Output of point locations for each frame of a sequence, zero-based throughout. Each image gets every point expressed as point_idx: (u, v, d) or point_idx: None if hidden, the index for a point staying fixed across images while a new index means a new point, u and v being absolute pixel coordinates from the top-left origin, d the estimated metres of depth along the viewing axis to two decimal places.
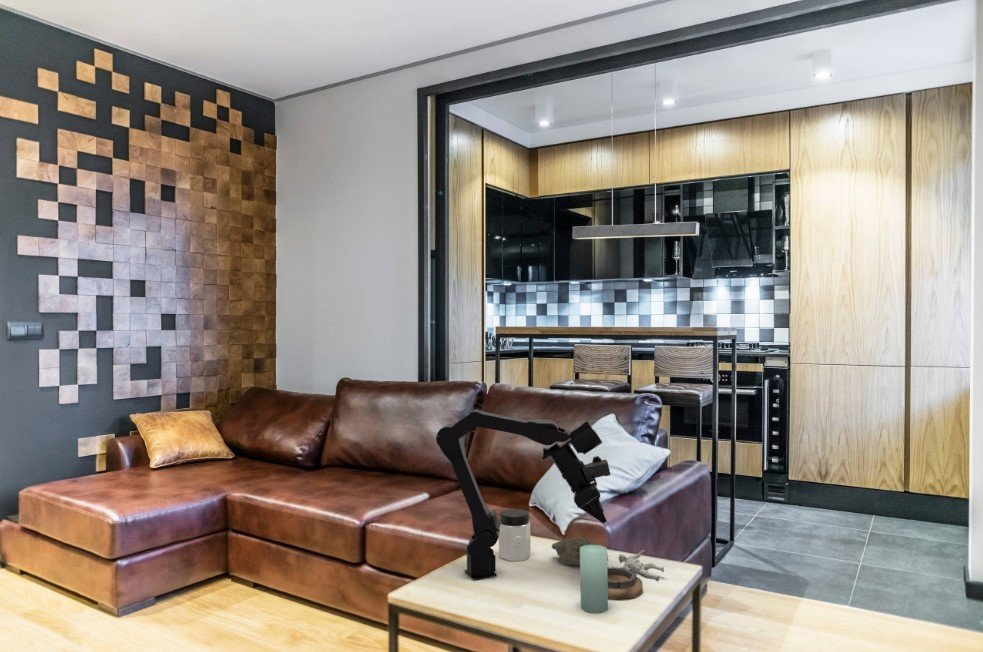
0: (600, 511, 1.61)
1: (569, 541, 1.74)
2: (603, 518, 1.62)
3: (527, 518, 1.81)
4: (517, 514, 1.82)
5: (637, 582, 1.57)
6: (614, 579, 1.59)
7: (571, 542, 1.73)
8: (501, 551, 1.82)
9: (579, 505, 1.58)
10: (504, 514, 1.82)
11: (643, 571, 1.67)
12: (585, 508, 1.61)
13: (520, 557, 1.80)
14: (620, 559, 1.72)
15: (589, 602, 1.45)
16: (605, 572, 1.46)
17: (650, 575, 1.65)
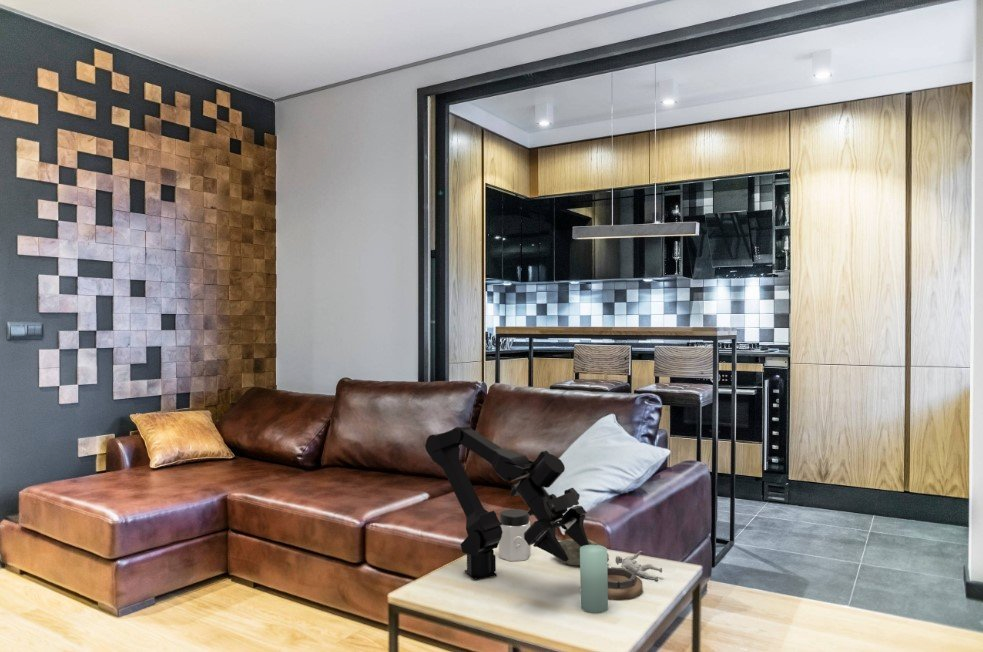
0: (557, 548, 1.47)
1: (569, 541, 1.74)
2: (563, 557, 1.47)
3: (527, 518, 1.81)
4: (517, 514, 1.82)
5: (637, 582, 1.57)
6: (614, 579, 1.59)
7: (572, 542, 1.73)
8: (501, 551, 1.82)
9: (528, 543, 1.48)
10: (504, 514, 1.82)
11: (641, 572, 1.66)
12: (541, 546, 1.49)
13: (520, 557, 1.80)
14: (617, 560, 1.71)
15: (589, 602, 1.45)
16: (605, 572, 1.46)
17: (649, 576, 1.65)
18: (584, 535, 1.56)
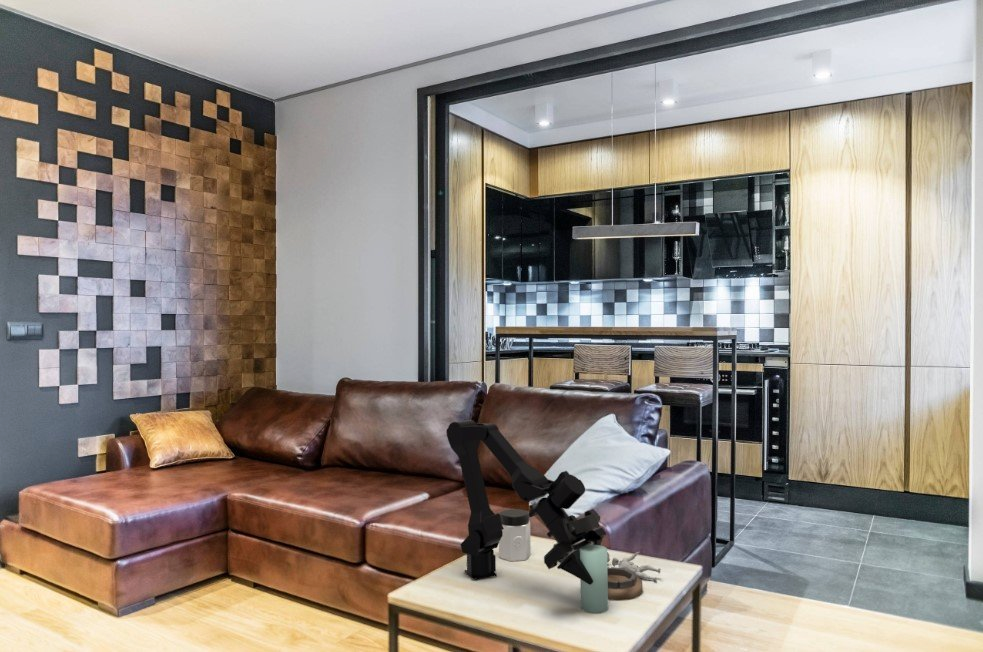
0: (582, 571, 1.45)
1: None
2: (587, 579, 1.45)
3: (527, 518, 1.81)
4: (517, 514, 1.82)
5: (637, 582, 1.57)
6: (614, 579, 1.59)
7: None
8: (501, 551, 1.82)
9: (548, 566, 1.45)
10: (504, 514, 1.82)
11: (640, 573, 1.65)
12: (565, 568, 1.47)
13: (520, 557, 1.80)
14: (613, 562, 1.70)
15: (589, 602, 1.45)
16: (605, 572, 1.46)
17: (647, 577, 1.64)
18: None
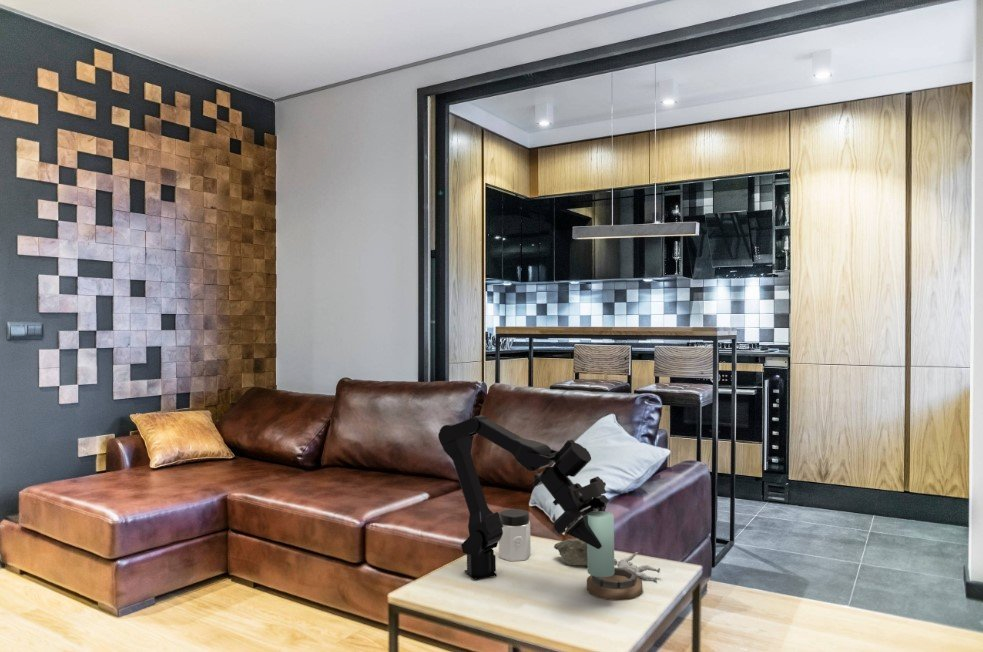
0: (591, 536, 1.47)
1: (571, 541, 1.74)
2: (596, 544, 1.47)
3: (527, 518, 1.81)
4: (517, 514, 1.82)
5: (637, 582, 1.57)
6: (614, 579, 1.59)
7: (574, 542, 1.73)
8: (501, 551, 1.82)
9: (558, 532, 1.46)
10: (504, 514, 1.82)
11: (639, 574, 1.65)
12: (574, 533, 1.49)
13: (520, 557, 1.80)
14: None
15: (598, 566, 1.48)
16: (612, 537, 1.49)
17: (647, 577, 1.64)
18: None
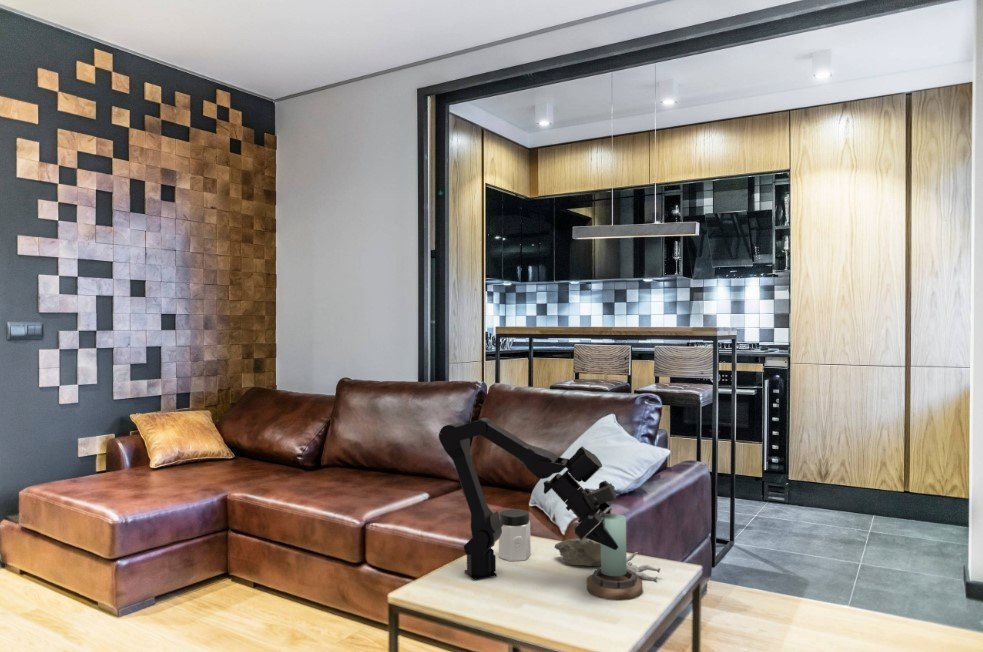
0: (608, 538, 1.55)
1: (572, 541, 1.74)
2: (613, 545, 1.55)
3: (527, 518, 1.81)
4: (517, 514, 1.82)
5: (637, 582, 1.57)
6: (614, 579, 1.59)
7: (574, 542, 1.73)
8: (501, 551, 1.82)
9: (580, 537, 1.52)
10: (504, 514, 1.82)
11: (640, 574, 1.65)
12: (592, 537, 1.55)
13: (520, 557, 1.80)
14: None
15: (614, 566, 1.56)
16: (625, 537, 1.58)
17: (648, 577, 1.64)
18: None
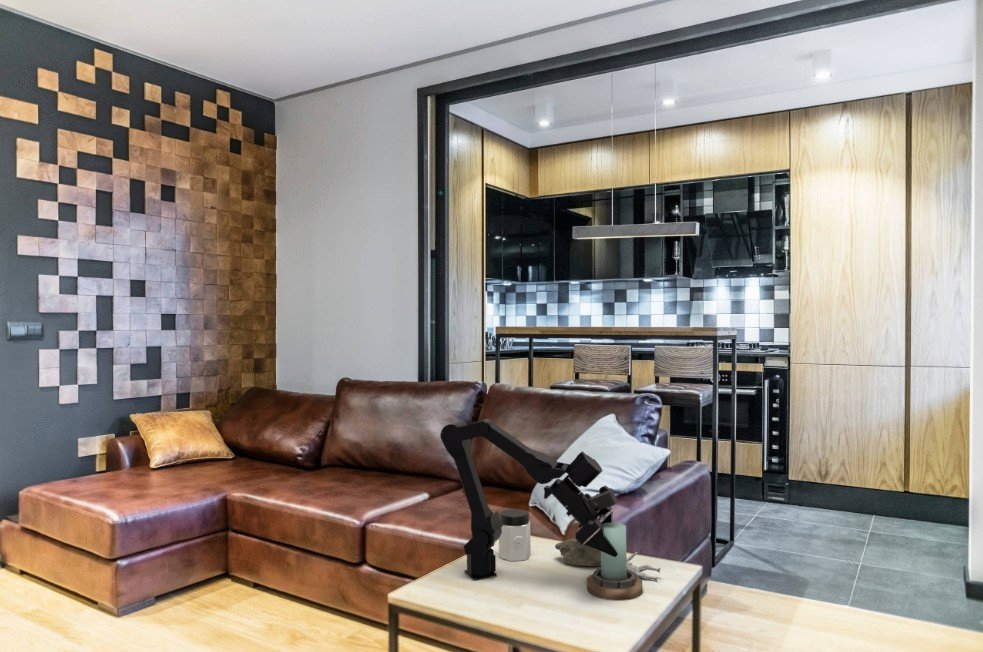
0: (608, 545, 1.53)
1: (572, 541, 1.74)
2: (613, 552, 1.53)
3: (527, 518, 1.81)
4: (517, 514, 1.82)
5: (637, 582, 1.57)
6: None
7: (575, 542, 1.73)
8: (501, 551, 1.82)
9: (581, 542, 1.52)
10: (504, 514, 1.82)
11: (640, 573, 1.65)
12: (591, 544, 1.54)
13: (520, 557, 1.80)
14: None
15: (614, 576, 1.55)
16: None
17: (648, 577, 1.64)
18: None
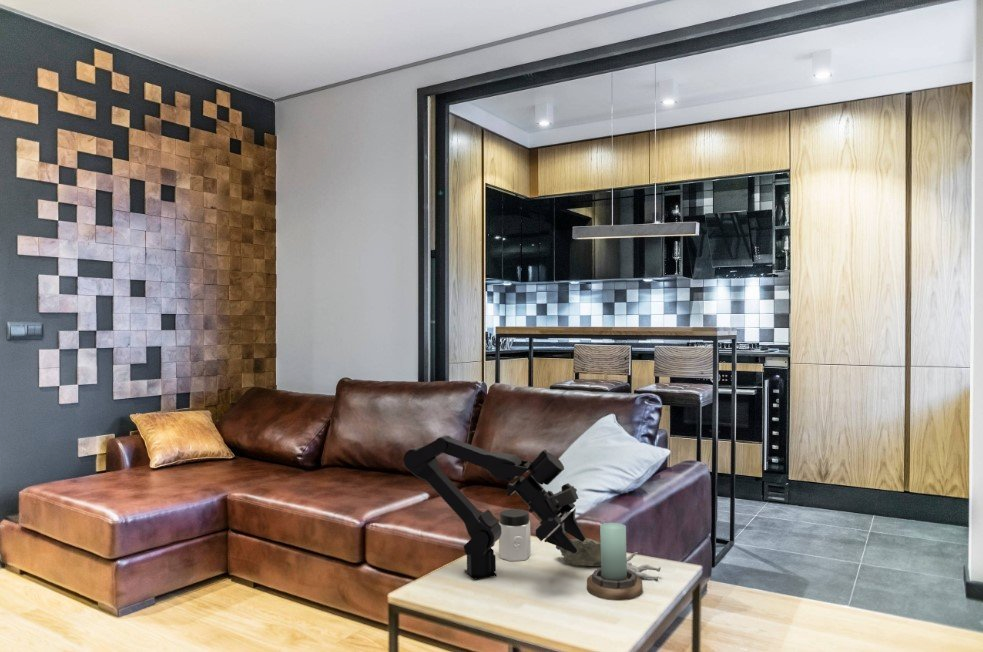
0: (567, 541, 1.56)
1: (573, 541, 1.74)
2: (572, 548, 1.57)
3: (527, 518, 1.81)
4: (517, 514, 1.82)
5: (637, 582, 1.57)
6: None
7: (576, 542, 1.73)
8: (501, 551, 1.82)
9: (541, 539, 1.55)
10: (504, 514, 1.82)
11: (640, 573, 1.65)
12: (551, 540, 1.57)
13: (520, 557, 1.80)
14: None
15: (614, 576, 1.55)
16: None
17: (649, 577, 1.64)
18: (578, 527, 1.66)
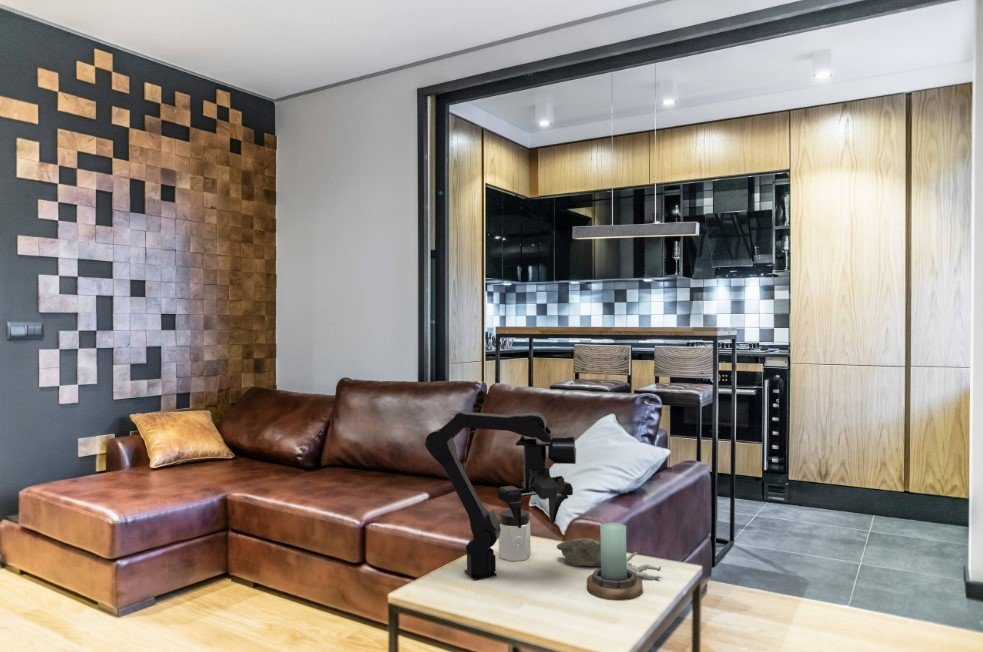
0: (516, 516, 1.64)
1: (574, 541, 1.73)
2: (517, 523, 1.65)
3: (527, 518, 1.81)
4: None
5: (637, 582, 1.57)
6: None
7: (577, 542, 1.73)
8: (501, 551, 1.82)
9: (498, 496, 1.66)
10: (504, 514, 1.82)
11: (641, 573, 1.65)
12: (509, 503, 1.66)
13: (520, 557, 1.80)
14: None
15: (614, 576, 1.55)
16: None
17: (649, 576, 1.64)
18: (555, 511, 1.68)
